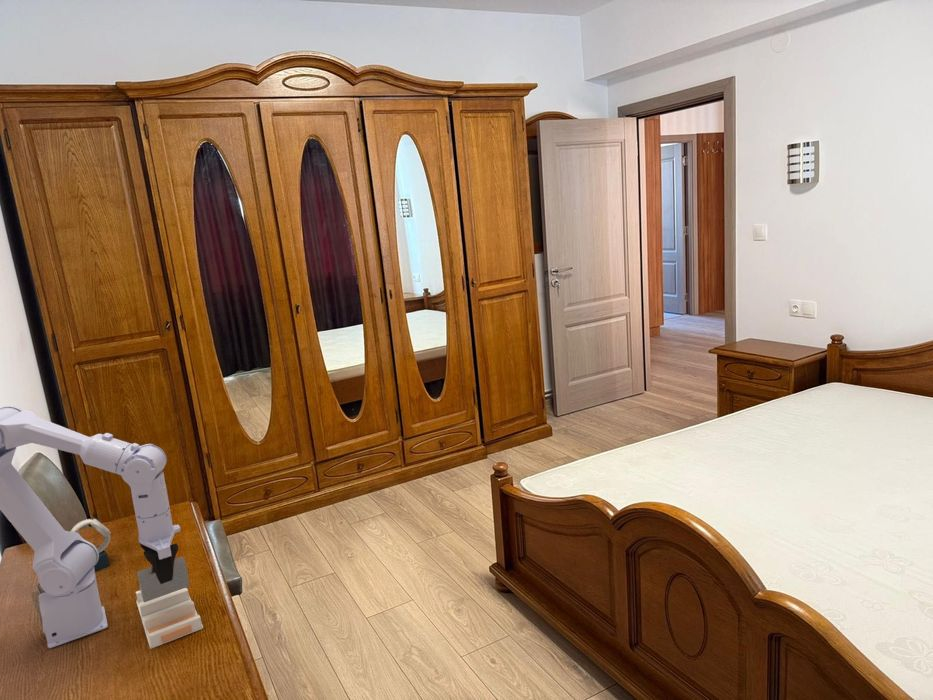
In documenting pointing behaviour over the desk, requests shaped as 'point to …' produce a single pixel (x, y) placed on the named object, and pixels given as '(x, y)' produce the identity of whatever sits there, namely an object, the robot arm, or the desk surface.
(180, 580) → the panel
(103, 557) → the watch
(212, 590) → the desk surface
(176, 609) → the rack
